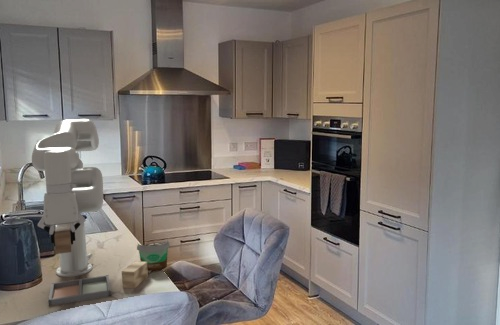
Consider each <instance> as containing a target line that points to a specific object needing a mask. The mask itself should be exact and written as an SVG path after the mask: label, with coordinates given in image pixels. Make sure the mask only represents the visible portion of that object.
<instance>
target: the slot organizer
mask: <svg viewBox="0 0 500 325" xmlns="http://www.w3.org/2000/svg"><path fill="white" fill-rule="evenodd" d="M104 297H106V298H107V297H112V293H111V283H110V277H109V274H106V275H101V276H92V277H85V278H76V279H71V280H65V281H58V282H57V281H56V282H51V285H50V291H49V296H48V306H55V305H61V304H68V303H75V302H81V301H87V300H93V299H98V298H104Z"/></svg>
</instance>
